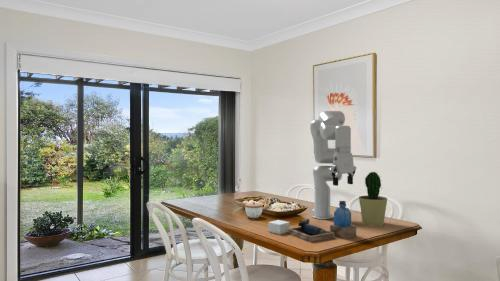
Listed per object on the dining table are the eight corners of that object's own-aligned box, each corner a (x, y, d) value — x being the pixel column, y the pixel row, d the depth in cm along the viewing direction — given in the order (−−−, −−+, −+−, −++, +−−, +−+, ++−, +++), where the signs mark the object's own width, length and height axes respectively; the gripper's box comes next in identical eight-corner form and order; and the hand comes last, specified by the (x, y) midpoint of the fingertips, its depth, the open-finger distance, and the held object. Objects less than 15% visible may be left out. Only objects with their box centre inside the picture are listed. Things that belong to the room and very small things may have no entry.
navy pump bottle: (298, 236, 187) (318, 242, 179) (297, 222, 186) (316, 227, 177) (309, 229, 193) (328, 235, 185) (308, 216, 192) (327, 220, 183)
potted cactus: (374, 219, 218) (374, 169, 218) (393, 225, 204) (393, 171, 203) (353, 221, 212) (353, 170, 212) (371, 227, 198) (370, 172, 198)
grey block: (268, 231, 191) (268, 222, 191) (278, 229, 197) (278, 219, 197) (279, 234, 186) (279, 224, 186) (289, 231, 191) (289, 222, 191)
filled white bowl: (252, 219, 219) (252, 204, 219) (241, 216, 227) (241, 201, 227) (266, 217, 226) (266, 202, 226) (254, 214, 234) (254, 199, 234)
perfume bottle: (339, 223, 187) (339, 199, 187) (351, 225, 183) (351, 201, 183) (334, 225, 182) (333, 201, 182) (345, 227, 178) (345, 202, 178)
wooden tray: (288, 233, 187) (288, 228, 187) (311, 229, 194) (311, 225, 194) (310, 242, 171) (310, 236, 171) (334, 237, 178) (334, 232, 178)
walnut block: (330, 235, 183) (330, 225, 183) (341, 232, 189) (341, 222, 189) (345, 239, 176) (345, 228, 176) (356, 235, 182) (356, 225, 182)
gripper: (334, 151, 175) (334, 186, 175) (361, 150, 183) (361, 184, 183) (324, 150, 181) (324, 185, 182) (350, 149, 190) (350, 182, 190)
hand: (342, 184), depth 183 cm, fingers open, 9 cm apart
